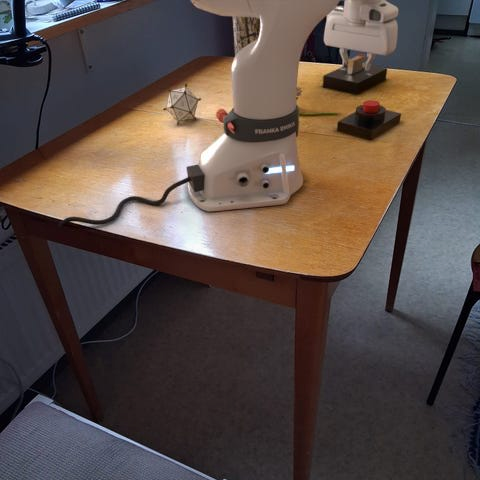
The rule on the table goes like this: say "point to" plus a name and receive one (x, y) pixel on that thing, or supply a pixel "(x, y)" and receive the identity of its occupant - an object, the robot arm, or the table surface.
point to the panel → (354, 79)
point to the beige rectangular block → (355, 64)
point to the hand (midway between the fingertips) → (355, 68)
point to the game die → (181, 104)
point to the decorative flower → (311, 114)
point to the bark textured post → (245, 31)
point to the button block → (368, 123)
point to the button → (371, 106)
